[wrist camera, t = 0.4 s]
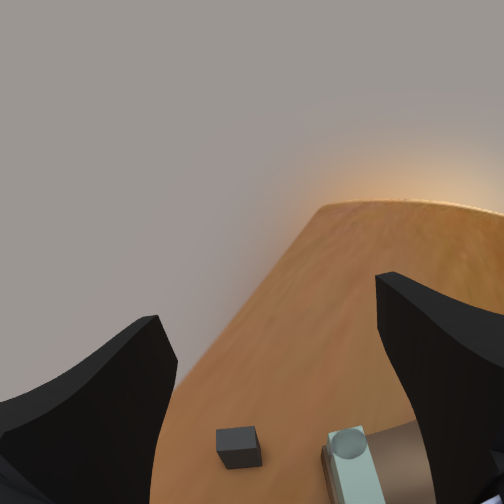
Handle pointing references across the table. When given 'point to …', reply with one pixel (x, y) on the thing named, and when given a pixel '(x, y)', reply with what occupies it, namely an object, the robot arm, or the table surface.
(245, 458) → the block
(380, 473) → the stool seat
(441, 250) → the table surface
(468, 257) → the table surface
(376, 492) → the folding leg
